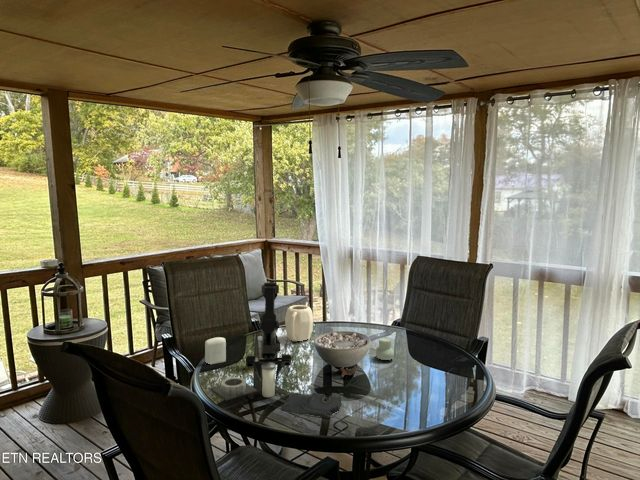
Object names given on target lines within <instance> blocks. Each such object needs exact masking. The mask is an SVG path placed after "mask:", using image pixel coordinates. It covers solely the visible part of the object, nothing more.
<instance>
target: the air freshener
mask: <svg viewBox="0 0 640 480" xmlns="http://www.w3.org/2000/svg"><path fill="white" fill-rule="evenodd" d="M391 346H392V339H390V338H389V337H388V338H387V337H382V338H379V341H378V346H377V347H376V348H375V357H376V356H377V357H376V358H378V359H377V360H379V359H381V360H380V361H382V360H389V361H391V359H392V360H394V358H395V351H394V347H391Z"/></svg>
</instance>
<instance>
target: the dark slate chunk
mask: <svg viewBox="0 0 640 480" xmlns="http://www.w3.org/2000/svg"><path fill="white" fill-rule="evenodd" d="M327 400H328V401H327ZM341 401H342V397H341V396H335V395H329V396H326V395H325V394H322V393H319V392H318V393H317V392H314V393H312V394H308V393H307V394H304V393H300V392H292V393H291V394H290V395H289V396H288V397H287V398H286V400H284V403H283V405H282V407H281V411H283V412H287V413H292V414H297V413H298V415H302V414H309V415H314V416H320V417H330V416H331V415H332V414H333V413H335V412H337V411H339V409H340V407H341V406H342V405H343V404H342V403H343V402H342V403H341ZM341 408H342V407H341ZM340 410H341V409H340ZM339 412H340V411H339ZM320 417H319V418H320Z"/></svg>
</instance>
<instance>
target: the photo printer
mask: <svg viewBox="0 0 640 480" xmlns="http://www.w3.org/2000/svg"><path fill="white" fill-rule="evenodd" d="M226 347H227V342H226V338H225V337H220V336H218V337H217V336H216V337H213V338H209V339H207V340H205V342H204V363H205V362H206V363H208V364H210V365H215V364H221V363H224V362H227V354H226V353H227V349H226Z"/></svg>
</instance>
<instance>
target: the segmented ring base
mask: <svg viewBox="0 0 640 480" xmlns="http://www.w3.org/2000/svg"><path fill="white" fill-rule="evenodd" d="M246 382H247V380H246V379H245V378H243V377H238V376H236V377H233V376H232V377H229V378H225V379H223V380H222V381H221V384H220V385H216V386H212V387H210V390H211V391H212V392H213V391H214V392H213V393H214V394H216V395H218V396H219V397H220V396H221V397H220V398H222V399H223V400H224V399H225V402H228V400H229V401H232V400H234V399H238V398H241V397H245V396H247V395H250V394H254V393H257V392H258V390H257V389H256V388H254V387H253V386H251V385H249V384H248V383H246Z"/></svg>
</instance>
